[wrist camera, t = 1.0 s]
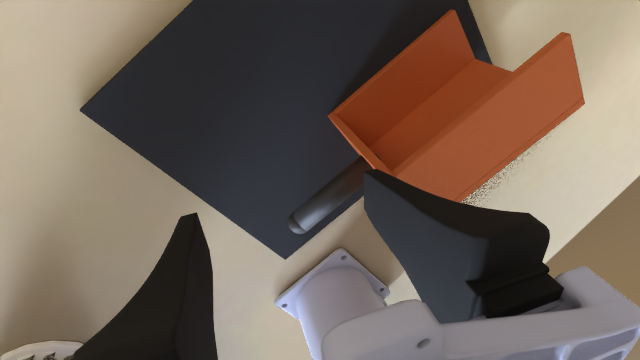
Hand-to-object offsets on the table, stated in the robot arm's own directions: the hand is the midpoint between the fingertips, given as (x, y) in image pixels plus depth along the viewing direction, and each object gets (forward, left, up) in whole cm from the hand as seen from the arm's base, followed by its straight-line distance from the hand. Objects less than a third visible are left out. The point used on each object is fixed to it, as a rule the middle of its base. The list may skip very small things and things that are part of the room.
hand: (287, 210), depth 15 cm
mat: (-2, -5, -10) cm, 11 cm away
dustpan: (-5, -6, -10) cm, 13 cm away
